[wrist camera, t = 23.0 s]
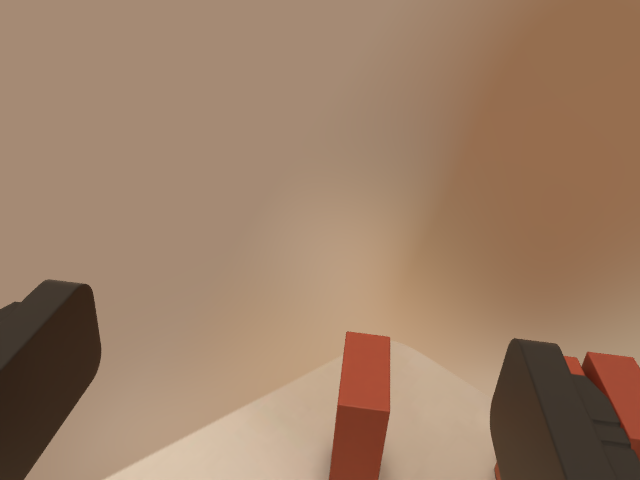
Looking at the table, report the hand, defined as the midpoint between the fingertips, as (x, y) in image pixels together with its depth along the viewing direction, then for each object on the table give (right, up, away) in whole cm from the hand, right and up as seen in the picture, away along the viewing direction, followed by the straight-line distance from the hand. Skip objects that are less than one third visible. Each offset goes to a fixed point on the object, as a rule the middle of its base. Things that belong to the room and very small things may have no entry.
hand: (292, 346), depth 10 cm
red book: (+2, -14, +24) cm, 27 cm away
